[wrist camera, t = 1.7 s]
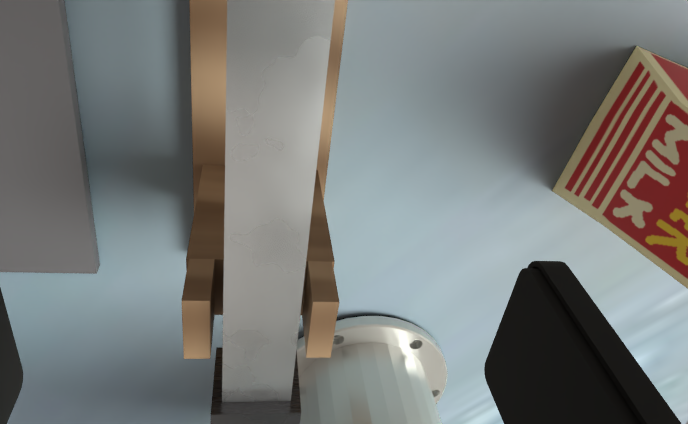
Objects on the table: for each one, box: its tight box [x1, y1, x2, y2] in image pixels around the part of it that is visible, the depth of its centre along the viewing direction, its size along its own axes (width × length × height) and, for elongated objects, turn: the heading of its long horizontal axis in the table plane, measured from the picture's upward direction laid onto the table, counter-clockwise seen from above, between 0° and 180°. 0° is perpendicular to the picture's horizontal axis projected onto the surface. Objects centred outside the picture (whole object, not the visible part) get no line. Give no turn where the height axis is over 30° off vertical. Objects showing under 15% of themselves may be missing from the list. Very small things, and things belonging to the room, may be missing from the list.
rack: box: [182, 0, 348, 359], centre depth 22 cm, size 26×7×12 cm, turn 173°
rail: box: [211, 0, 335, 424], centre depth 18 cm, size 25×4×4 cm, turn 173°
